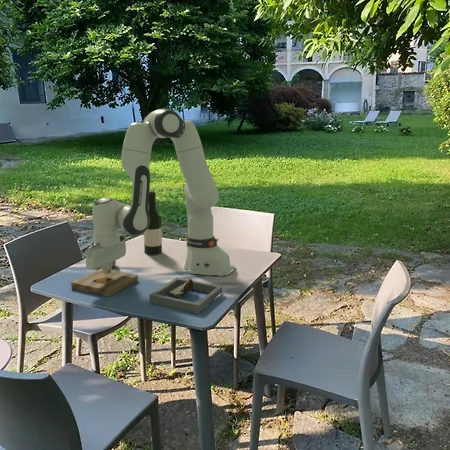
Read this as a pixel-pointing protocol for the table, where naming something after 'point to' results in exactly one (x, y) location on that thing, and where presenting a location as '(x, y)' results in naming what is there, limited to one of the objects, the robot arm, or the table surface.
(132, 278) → the board
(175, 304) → the slate dish rim
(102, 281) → the rubber ball
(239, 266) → the table surface
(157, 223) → the wine bottle
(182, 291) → the rock sample
